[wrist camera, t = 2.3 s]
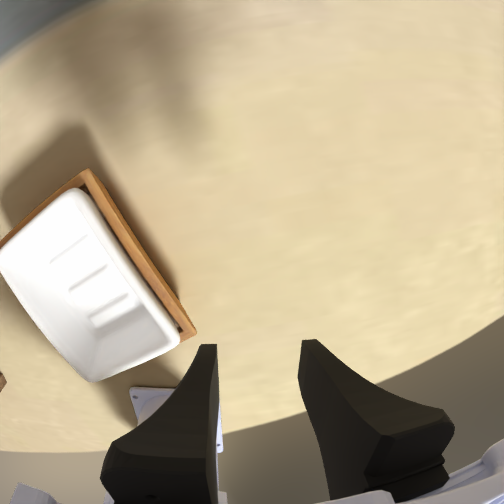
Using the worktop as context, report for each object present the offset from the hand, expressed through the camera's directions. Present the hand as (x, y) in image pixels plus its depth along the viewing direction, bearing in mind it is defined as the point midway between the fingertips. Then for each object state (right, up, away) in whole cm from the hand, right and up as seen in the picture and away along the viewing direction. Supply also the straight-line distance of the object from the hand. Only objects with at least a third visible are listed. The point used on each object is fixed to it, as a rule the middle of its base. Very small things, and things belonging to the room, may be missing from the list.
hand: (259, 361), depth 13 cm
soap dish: (-11, +3, +9) cm, 15 cm away
